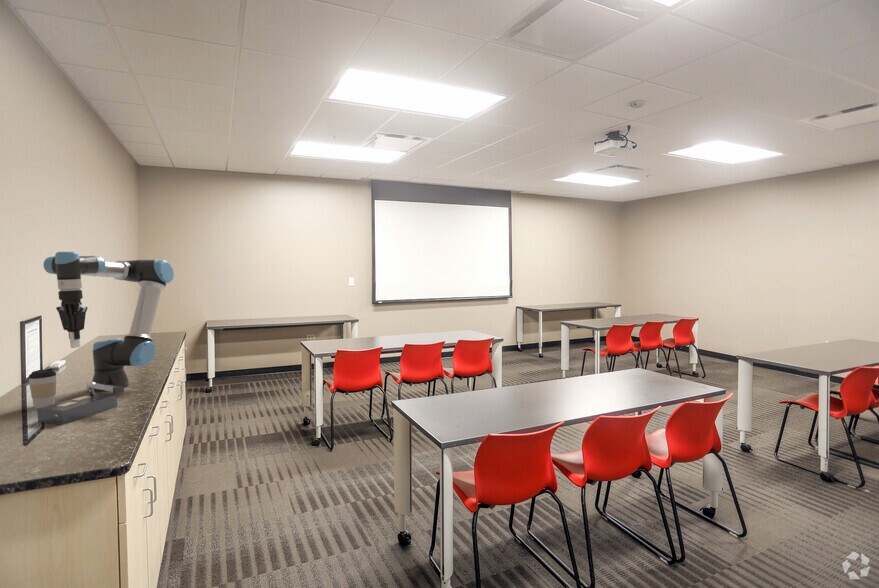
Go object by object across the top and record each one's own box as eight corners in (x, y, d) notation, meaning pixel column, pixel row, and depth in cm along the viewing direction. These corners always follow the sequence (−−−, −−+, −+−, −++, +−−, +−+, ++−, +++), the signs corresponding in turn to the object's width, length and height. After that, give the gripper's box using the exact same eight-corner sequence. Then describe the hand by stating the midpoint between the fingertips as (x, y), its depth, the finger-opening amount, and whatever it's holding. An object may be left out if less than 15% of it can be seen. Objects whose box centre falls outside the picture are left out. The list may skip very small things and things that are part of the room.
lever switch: (94, 404, 194) (93, 386, 193) (117, 406, 191) (116, 387, 191) (36, 422, 172) (35, 401, 171) (62, 424, 169) (60, 403, 169)
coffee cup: (41, 409, 188) (39, 373, 187) (24, 408, 190) (21, 372, 189) (63, 402, 197) (61, 368, 196) (46, 401, 199) (44, 367, 198)
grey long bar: (85, 388, 190) (84, 382, 190) (93, 386, 193) (92, 381, 193) (116, 393, 181) (115, 388, 181) (124, 391, 184) (123, 386, 184)
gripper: (47, 290, 184) (53, 348, 186) (74, 290, 181) (79, 349, 184) (66, 288, 191) (71, 344, 194) (92, 289, 189) (97, 345, 191)
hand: (75, 347), depth 189 cm, fingers closed
